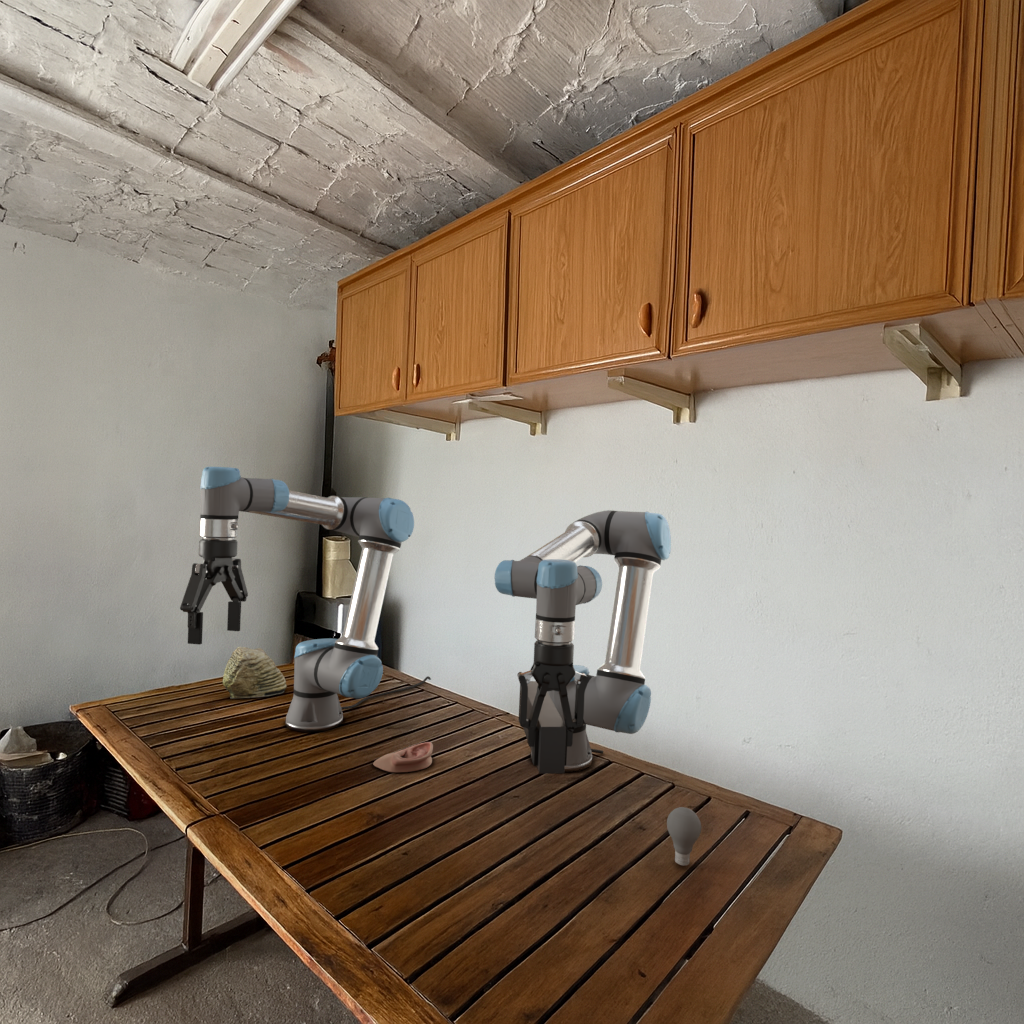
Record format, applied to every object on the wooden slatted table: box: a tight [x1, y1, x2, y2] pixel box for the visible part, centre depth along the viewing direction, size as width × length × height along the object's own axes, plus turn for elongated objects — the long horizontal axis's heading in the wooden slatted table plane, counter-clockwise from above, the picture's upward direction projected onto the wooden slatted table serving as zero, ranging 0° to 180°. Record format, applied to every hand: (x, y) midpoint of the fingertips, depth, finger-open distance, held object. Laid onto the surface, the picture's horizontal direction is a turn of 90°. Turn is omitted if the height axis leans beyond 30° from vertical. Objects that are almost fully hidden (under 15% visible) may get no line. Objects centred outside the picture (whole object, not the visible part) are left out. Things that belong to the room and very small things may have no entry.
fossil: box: [222, 646, 288, 699], centre depth 198 cm, size 9×18×15 cm, turn 132°
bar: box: [522, 680, 566, 775], centre depth 132 cm, size 29×5×9 cm, turn 7°
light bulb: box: [666, 806, 702, 867], centre depth 114 cm, size 6×6×10 cm
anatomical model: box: [372, 741, 434, 773], centre depth 152 cm, size 13×4×12 cm
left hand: (215, 637), depth 137 cm, fingers open, 13 cm apart
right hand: (548, 762), depth 121 cm, fingers closed on bar, 5 cm apart
